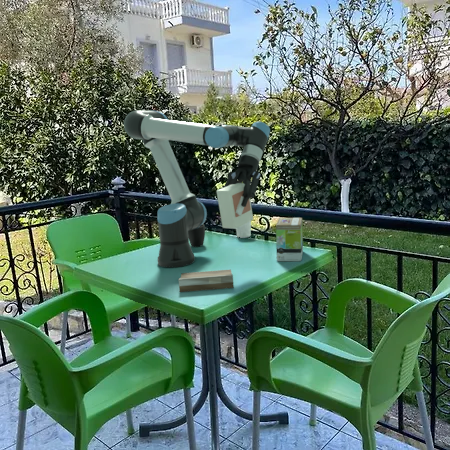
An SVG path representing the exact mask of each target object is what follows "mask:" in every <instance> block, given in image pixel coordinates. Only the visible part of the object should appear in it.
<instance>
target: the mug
mask: <svg viewBox="0 0 450 450" xmlns="http://www.w3.org/2000/svg"><path fill="white" fill-rule="evenodd" d="M188 238H189V244H190V246H191V248H201V247H203V246H204V243H205V238H206V228H205V224H204V223H203V224H202V225H201V226H200V227H198V228H196V229H194V230H191V231H189V232H188Z"/></svg>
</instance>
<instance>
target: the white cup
mask: <svg viewBox="0 0 450 450" xmlns="http://www.w3.org/2000/svg"><path fill="white" fill-rule="evenodd" d="M235 231H236V237H237V238H239V237H240V239H246V238H249V237H251V236H252V235H251V231H252V220H251V221H249V222H248V223H246V224H244V225H242V226H240V227H238V228H236V229H235Z"/></svg>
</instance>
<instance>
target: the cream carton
mask: <svg viewBox="0 0 450 450" xmlns="http://www.w3.org/2000/svg"><path fill="white" fill-rule="evenodd" d="M244 186H245V184H244V182H242V183H236V184H232V185H229V186H227V187H224V186H223V187H222V188H220V189H217V190H216V196H217V202H218V209H219V213H220V220H221V224H222V225H221V226H222V229H232V230H236V228H238V227H240V226H242V225H244V224H246V223H248V222H249V221H251V222H252V221H253V220H254V215H253V209H252V203H251V198H249V199H248V202H247V204H246V206H245V207H244V209H243V212H242V215H241V216H239V215H238V214H237V213H236V209H237V206H238V204H239V201H240V198H241V196H243V195H242V194H243V193H244ZM243 197H244V196H243Z"/></svg>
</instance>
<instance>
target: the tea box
mask: <svg viewBox="0 0 450 450" xmlns="http://www.w3.org/2000/svg"><path fill="white" fill-rule="evenodd" d="M275 237H276V238H275V239H276V243H275V244H276V248H275V249H276V261H277V262H301V261H302V258H303V252H304V238H303V237H304V236H303V217H279V218H278V219H277V222H276V224H275Z"/></svg>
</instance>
